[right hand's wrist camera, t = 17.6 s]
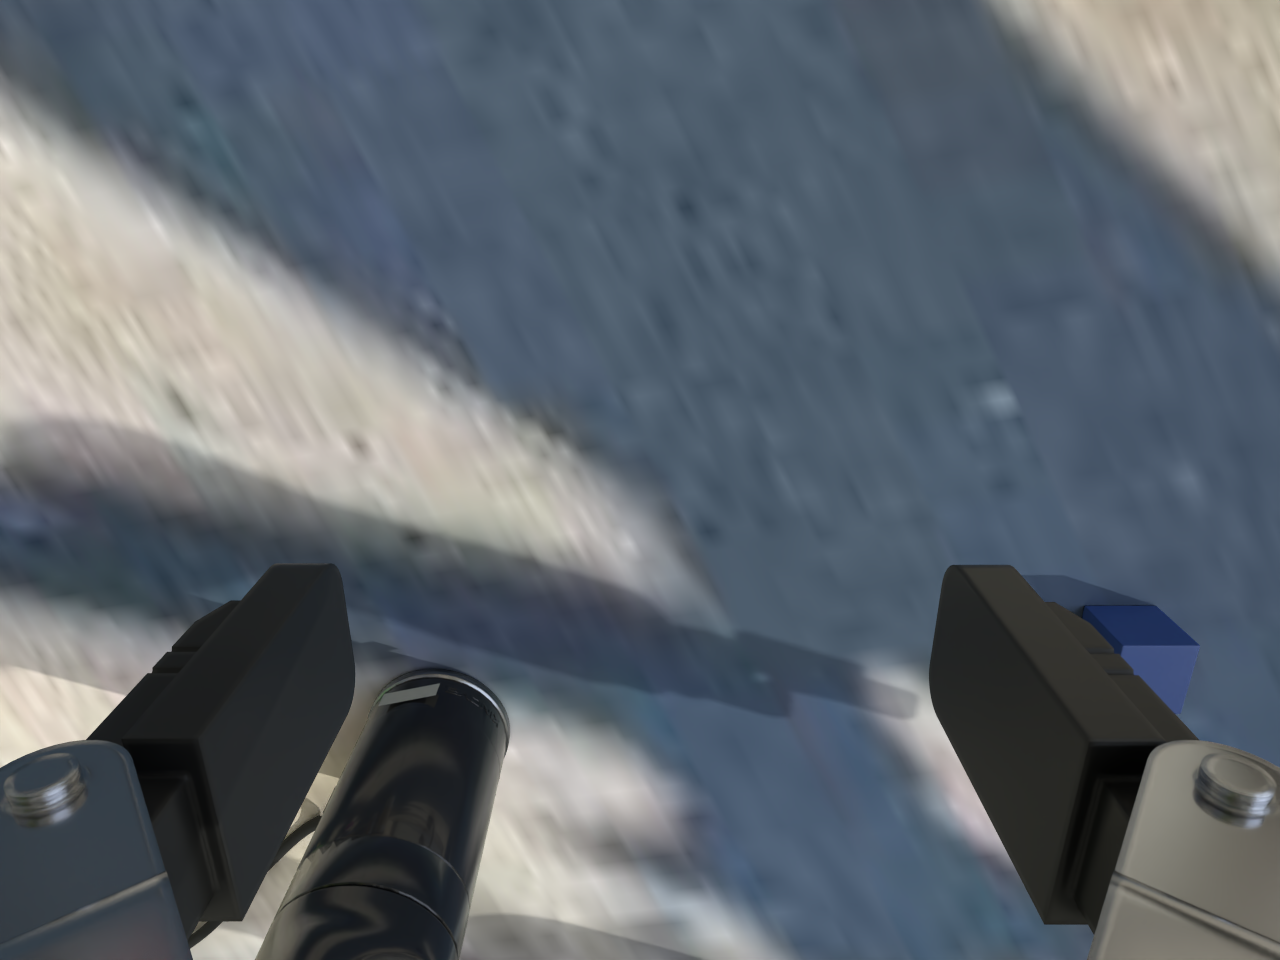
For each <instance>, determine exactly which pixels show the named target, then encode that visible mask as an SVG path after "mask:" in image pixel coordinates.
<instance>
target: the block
mask: <svg viewBox="0 0 1280 960" xmlns="http://www.w3.org/2000/svg"><path fill="white" fill-rule="evenodd" d="M1082 619H1084V620H1085V621H1087V622H1089V623H1090V624H1091V625H1092V626H1093V627H1094V628H1095V629H1096V630H1097V631H1098V632H1099V633H1100V634H1101V635H1102V636H1103V637H1104V638H1105V640H1106V641H1107V642H1108V643H1109V644H1110V645H1111V646H1112V647H1113V648H1114V653H1115V654H1119V655H1120V656H1121V657H1122V658H1123V659H1124V660H1125V661H1126V662H1127V663H1128V664H1129V665H1130V666H1131V667H1132V669H1133V670H1134V675H1139V676H1140V677H1141V678H1142V679H1143V680H1144V681H1145V682H1146V684H1147V685H1148V686H1149V687H1150V688H1151V689H1152V690H1153V691H1154V692H1155V693H1156V694H1157V695H1158V696H1159V697H1160V699H1161V700H1162V701H1163V702H1164V703H1165V704H1166V705H1167V706H1168V707H1169V708H1170V709H1171V710H1172V711H1173V712H1174V714H1180V713H1181V711H1182V707H1183V704H1184V700H1185V697H1186V693H1187V690H1188V686H1189V683H1190V679H1191V676H1192V673H1193V669H1194V666H1195V662H1196V659H1197V655H1198V652H1199V648H1200V645H1199V644H1198V643H1197V642H1195V641H1194V640H1193V639H1192V638H1191V637H1190V636H1189V635H1188V634H1187V633H1186V632H1184V631H1183V630H1182V629H1181V628H1180V627H1179V626H1178V625H1177V624H1176V623H1174V622H1173V621H1172V620H1171V619H1170V618H1169V617H1168V616H1167V615H1166V614H1165V613H1163V612H1162V611H1161V610H1160V609H1159V608H1158V607H1157V606H1085V607H1084V611H1083V615H1082Z"/></svg>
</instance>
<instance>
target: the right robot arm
mask: <svg viewBox="0 0 1280 960" xmlns="http://www.w3.org/2000/svg"><path fill="white" fill-rule="evenodd" d="M929 685H930V694H931V699H932V703H933V707H934V710H935V713H936V715H937V717H938V719H939V721H940V723H941V725H942V727H943V729H944V731H945V733H946V735H947V737H948V738H949V740H950V742H951V744H952V746H953V748H954V750H955V752H956V754H957V756H958V758H959V760H960V762H961V764H962V766H963V768H964V769H965V771H966V773H967V775H968V777H969V779H970V781H971V783H972V785H973V787H974V789H975V791H976V793H977V795H978V797H979V799H980V800H981V802H982V804H983V806H984V808H985V810H986V812H987V814H988V816H989V818H990V820H991V822H992V824H993V826H994V828H995V830H996V832H997V833H998V835H999V837H1000V839H1001V841H1002V843H1003V845H1004V847H1005V849H1006V851H1007V853H1008V855H1009V857H1010V859H1011V861H1012V863H1013V864H1014V866H1015V868H1016V870H1017V872H1018V874H1019V876H1020V878H1021V880H1022V882H1023V884H1024V886H1025V888H1026V890H1027V892H1028V894H1029V895H1030V897H1031V899H1032V901H1033V903H1034V905H1035V907H1036V909H1037V911H1038V913H1039V915H1040V917H1041V919H1042V921H1043V923H1044V924H1088V925H1089V927H1090V929H1091V930H1092V932H1093V934H1094V938H1093V941H1092V945H1091V948H1090V951H1089V955H1088V958H1087V960H1280V768H1279V767H1277V766H1275V765H1273V764H1272V763H1270V762H1268V761H1266V760H1264V759H1262V758H1259V757H1257V756H1255V755H1253V754H1250V753H1247V752H1245V751H1242V750H1240V749H1236V748H1233V747H1230V746H1226V745H1222V744H1218V743H1213V742H1207V741H1200V740H1199V739H1198V738H1197V737H1196V736H1195V735H1194V734H1193V733H1192V732H1191V731H1190V730H1189V729H1188V727H1187V726H1186V725H1185V724H1184V723H1183V722H1182V721H1181V720H1180V719H1179V718H1178V717H1177V716H1176V715H1175V714H1174V712H1173V711H1172V710H1171V709H1170V708H1169V707H1168V706H1167V705H1166V704H1165V703H1164V702H1163V701H1162V700H1161V699H1160V697H1159V696H1158V695H1157V694H1156V693H1155V692H1154V691H1153V690H1152V689H1151V688H1150V687H1149V686H1148V685H1147V684H1146V682H1145V681H1144V680H1143V679H1142V678H1141V677H1140V676H1139V675H1134V670H1133V669H1132V667H1131V666H1130V665H1129V664H1128V663H1127V662H1126V661H1125V660H1124V659H1123V658H1122V657H1121V656H1120V655H1119V654H1115V653H1114V648H1113V647H1112V646H1111V645H1110V644H1109V643H1108V642H1107V641H1106V640H1105V638H1104V637H1103V636H1102V635H1101V634H1100V633H1099V632H1098V631H1097V630H1096V629H1095V628H1094V627H1093V626H1092V625H1091V624H1090V623H1089V622H1087V621H1085V620H1084V619H1082V618H1080V617H1079V616H1077V615H1075V614H1074V613H1072V612H1070V611H1069V610H1067V609H1065V608H1064V607H1062V606H1060V605H1058V604H1057V603H1055V602H1044V601H1043V600H1042V599H1041V597H1040V596H1039V595H1038V594H1037V593H1036V592H1035V591H1034V590H1033V588H1032V587H1031V586H1030V585H1029V584H1028V583H1027V582H1026V580H1025V579H1024V578H1023V577H1022V576H1021V575H1020V574H1019V572H1018V571H1017V570H1016V569H1015V568H1014V567H1012V566H1010V565H951V566H950V567H949V568H948V569H947V570H946V572H945V575H944V578H943V582H942V588H941V594H940V601H939V608H938V614H937V621H936V627H935V634H934V640H933V647H932V654H931V660H930V668H929ZM354 687H355V663H354V656H353V650H352V643H351V636H350V629H349V623H348V616H347V609H346V603H345V596H344V589H343V583H342V578H341V575H340V572H339V570H338V568H337V567H336V566H335V565H334V564H274V565H272V566H271V567H270V568H269V569H268V570H267V571H266V572H265V573H264V575H263V576H262V577H261V578H260V579H259V580H258V582H257V583H256V584H255V585H254V586H253V587H252V588H251V590H250V591H249V592H248V593H247V594H246V595H245V597H244V598H243V599H242V600H241V601H229V602H228V603H226V604H224V605H223V606H221V607H219V608H218V609H216V610H214V611H213V612H211V613H209V614H207V615H206V616H204V617H202V618H201V619H199V620H197V621H196V622H194V624H193V625H192V626H191V627H190V628H189V629H188V630H187V631H186V632H185V633H184V634H183V635H182V637H181V638H180V639H179V640H178V641H177V642H176V643H175V644H174V645H173V646H172V651H171V652H167V653H166V654H165V655H164V656H163V657H162V658H161V659H160V660H159V661H158V662H157V664H156V665H155V666H154V667H153V671H152V673H147V674H146V675H145V677H144V678H143V679H142V680H141V681H140V682H139V683H138V684H137V685H136V686H135V687H134V688H133V690H132V691H131V692H130V693H129V694H128V695H127V696H126V697H125V698H124V699H123V700H122V701H121V703H120V704H119V705H118V706H117V707H116V708H115V709H114V710H113V711H112V712H111V713H110V714H109V716H108V717H107V718H106V719H105V720H104V721H103V722H102V723H101V724H100V725H99V726H98V727H97V728H96V730H95V731H94V732H93V733H92V734H91V735H90V736H89V737H88V738H87V739H86V740H81V741H73V742H67V743H62V744H58V745H54V746H50V747H47V748H44V749H40V750H38V751H35V752H33V753H30V754H27V755H25V756H23V757H21V758H18V759H16V760H14V761H12V762H10V763H8V764H7V765H5V766H3V767H1V768H0V960H193V958H192V955H191V951H190V948H192V947H193V946H194V945H196V944H197V943H199V942H200V941H201V940H203V939H204V938H205V937H206V936H208V935H209V934H210V933H211V932H212V931H213V930H214V929H216V928H217V927H218V926H219V925H220V924H221V923H222V921H242V920H243V918H244V917H245V915H246V913H247V911H248V909H249V907H250V905H251V903H252V901H253V899H254V897H255V895H256V893H257V891H258V889H259V887H260V885H261V883H262V881H263V879H264V877H265V875H266V873H267V872H268V871H269V870H270V869H271V868H272V867H273V866H274V865H275V864H276V863H277V862H278V861H279V860H280V859H281V858H282V857H283V856H284V855H285V854H286V853H287V852H288V851H289V850H290V849H291V848H292V847H293V846H295V845H296V844H297V843H298V842H299V841H300V840H302V839H303V838H304V837H306V836H307V835H308V834H310V833H311V832H313V831H315V832H314V834H313V837H312V839H311V841H310V843H309V845H308V847H307V849H306V851H305V854H304V856H303V858H302V860H301V862H300V864H299V866H298V869H297V871H296V873H295V876H294V878H293V880H292V882H291V884H290V886H289V888H288V890H287V893H286V895H285V897H284V899H283V901H282V903H281V905H280V907H279V910H278V912H277V914H276V916H275V918H274V921H273V922H272V924H271V926H270V928H269V931H268V933H267V935H266V937H265V939H264V942H263V944H262V946H261V948H260V950H259V952H258V954H257V956H256V958H255V960H459V958H460V953H461V949H462V944H463V940H464V935H465V931H466V926H467V921H468V916H469V911H470V907H471V902H472V898H473V893H474V889H475V884H476V880H477V875H478V871H479V866H480V862H481V858H482V853H483V849H484V844H485V840H486V835H487V831H488V826H489V822H490V817H491V813H492V808H493V804H494V799H495V795H496V790H497V786H498V781H499V777H500V773H501V768H502V764H503V759H504V757H505V755H506V752H507V748H508V744H509V738H510V723H509V718H508V715H507V713H506V710H505V708H504V706H503V705H502V703H501V701H500V700H499V699H498V697H497V696H496V695H495V694H494V693H493V692H492V691H491V690H490V689H489V688H488V687H486V686H485V685H484V684H482V683H481V682H479V681H477V680H476V679H474V678H472V677H470V676H467V675H465V674H462V673H459V672H455V671H451V670H444V669H424V670H418V671H414V672H410V673H407V674H404V675H402V676H400V677H398V678H396V679H395V680H393V681H392V682H390V683H389V684H388V685H387V686H386V687H385V688H384V689H383V690H382V691H381V692H380V693H379V695H378V696H377V698H376V700H375V702H374V704H373V706H372V708H371V710H370V713H369V716H368V720H367V722H366V724H365V727H364V729H363V731H362V733H361V735H360V737H359V739H358V741H357V743H356V745H355V747H354V749H353V752H352V754H351V756H350V758H349V760H348V762H347V764H346V766H345V769H344V771H343V773H342V775H341V777H340V779H339V781H338V783H337V786H336V787H335V788H334V790H333V792H332V795H331V797H330V799H329V801H328V803H327V805H326V807H325V809H324V812H323V815H322V816H319V817H316V818H313V819H312V820H310V821H308V822H306V823H305V824H303V825H302V826H301V827H299V828H298V829H297V830H296V831H294V832H293V833H292V834H291V835H290V836H289V837H287V838H286V839H285V840H284V838H285V836H286V834H287V832H288V830H289V828H290V826H291V824H292V822H293V820H294V818H295V816H296V814H297V813H298V811H299V809H300V807H301V805H302V803H303V801H304V799H305V797H306V795H307V793H308V791H309V789H310V787H311V785H312V783H313V781H314V779H315V777H316V775H317V773H318V771H319V769H320V767H321V765H322V763H323V761H324V760H325V758H326V756H327V754H328V752H329V750H330V748H331V746H332V744H333V742H334V740H335V738H336V736H337V734H338V732H339V730H340V728H341V726H342V724H343V722H344V720H345V718H346V716H347V714H348V712H349V710H350V707H351V703H352V699H353V694H354ZM283 840H284V841H283ZM199 921H208V922H207V923H206V924H204V925H203V926H202V927H201V928H200V929H198V930H197V931H196V932H194V933H193V931H194V929H195V927H196V925H197V924H198V922H199ZM192 933H193V934H192ZM191 934H192V935H191Z"/></svg>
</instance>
